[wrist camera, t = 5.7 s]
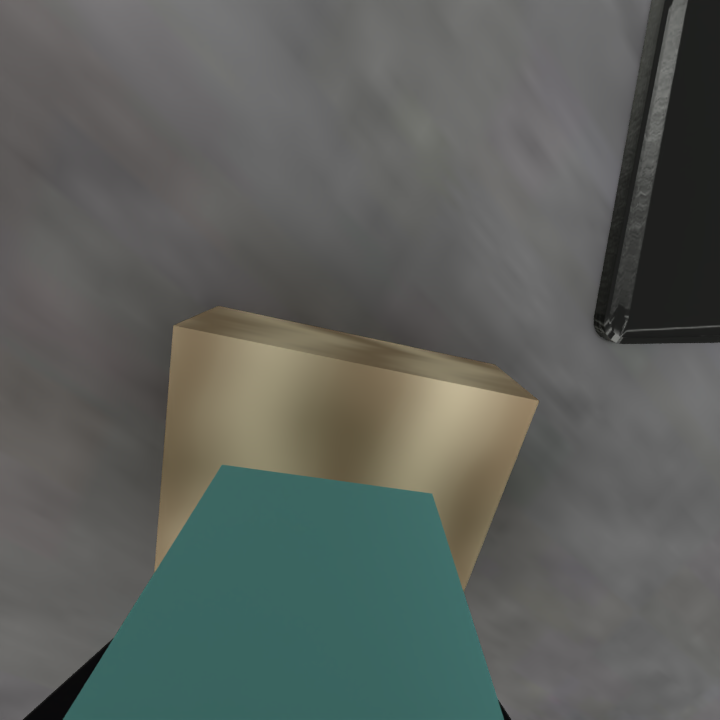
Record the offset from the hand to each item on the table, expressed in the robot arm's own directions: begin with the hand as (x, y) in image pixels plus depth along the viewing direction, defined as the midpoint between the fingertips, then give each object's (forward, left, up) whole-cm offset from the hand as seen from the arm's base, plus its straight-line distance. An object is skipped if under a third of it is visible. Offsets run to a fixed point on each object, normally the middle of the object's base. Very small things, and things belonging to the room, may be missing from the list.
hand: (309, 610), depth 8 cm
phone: (+15, +14, -12) cm, 23 cm away
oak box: (+1, -3, -12) cm, 12 cm away
